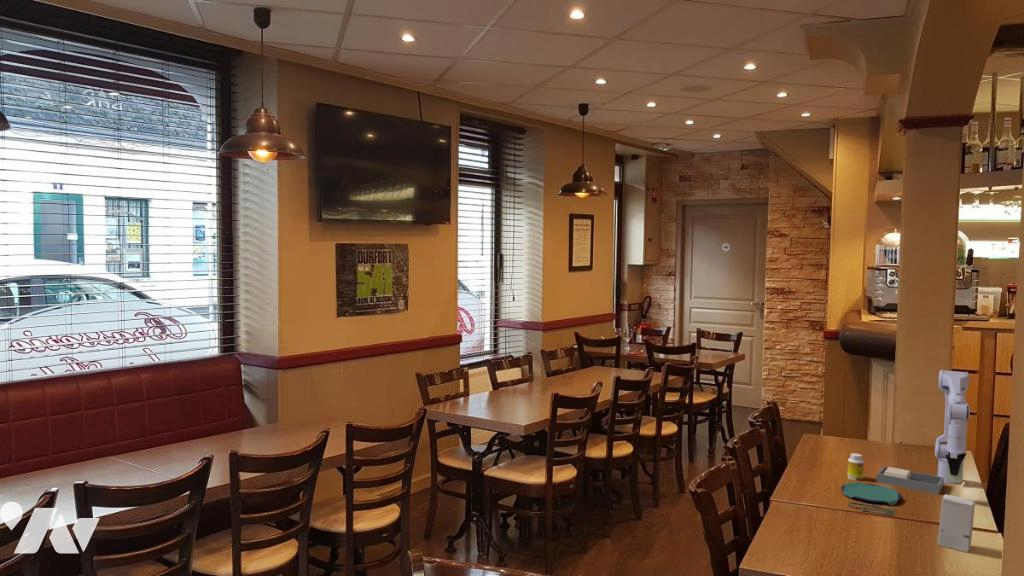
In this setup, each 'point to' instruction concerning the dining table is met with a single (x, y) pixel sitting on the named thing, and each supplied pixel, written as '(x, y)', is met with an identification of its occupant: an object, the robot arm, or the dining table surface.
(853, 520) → the dining table surface
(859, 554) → the dining table surface
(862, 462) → the supplement bottle
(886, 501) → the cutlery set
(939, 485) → the tote
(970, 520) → the skincare box
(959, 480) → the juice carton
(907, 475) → the beige flat block
